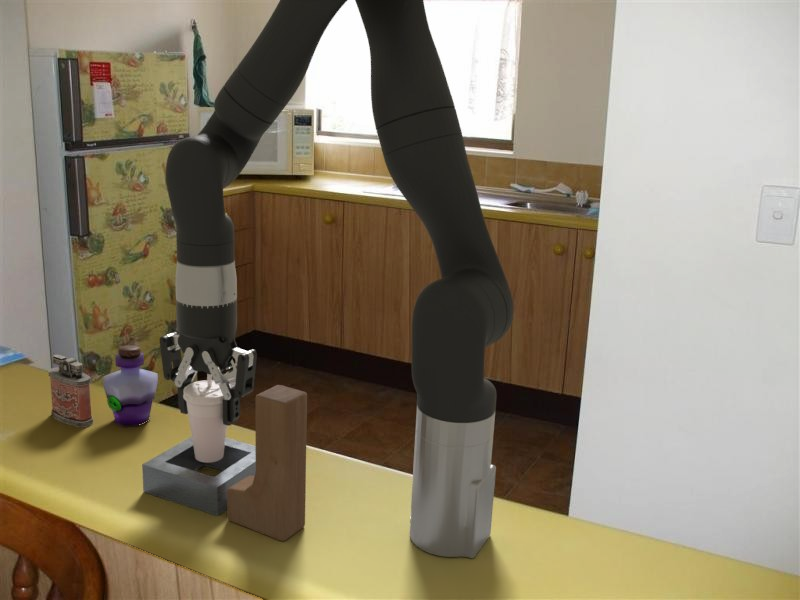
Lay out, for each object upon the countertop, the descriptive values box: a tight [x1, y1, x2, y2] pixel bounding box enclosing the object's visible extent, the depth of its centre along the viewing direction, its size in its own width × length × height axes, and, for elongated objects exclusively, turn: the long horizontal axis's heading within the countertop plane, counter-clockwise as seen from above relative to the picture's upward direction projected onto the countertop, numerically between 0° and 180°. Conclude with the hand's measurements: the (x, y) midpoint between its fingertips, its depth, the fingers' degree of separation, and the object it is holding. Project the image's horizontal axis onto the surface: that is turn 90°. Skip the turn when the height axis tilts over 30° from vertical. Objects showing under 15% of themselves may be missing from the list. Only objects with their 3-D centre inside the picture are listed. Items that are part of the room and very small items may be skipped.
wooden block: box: [226, 384, 308, 542], centre depth 103 cm, size 9×4×18 cm, turn 60°
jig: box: [142, 435, 256, 517], centre depth 113 cm, size 12×12×4 cm
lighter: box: [47, 354, 94, 428], centre depth 130 cm, size 8×3×10 cm, turn 58°
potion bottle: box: [102, 344, 159, 428], centre depth 131 cm, size 9×9×12 cm
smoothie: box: [183, 373, 231, 463], centre depth 111 cm, size 6×6×14 cm
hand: (208, 417), depth 111 cm, fingers closed on smoothie, 6 cm apart
